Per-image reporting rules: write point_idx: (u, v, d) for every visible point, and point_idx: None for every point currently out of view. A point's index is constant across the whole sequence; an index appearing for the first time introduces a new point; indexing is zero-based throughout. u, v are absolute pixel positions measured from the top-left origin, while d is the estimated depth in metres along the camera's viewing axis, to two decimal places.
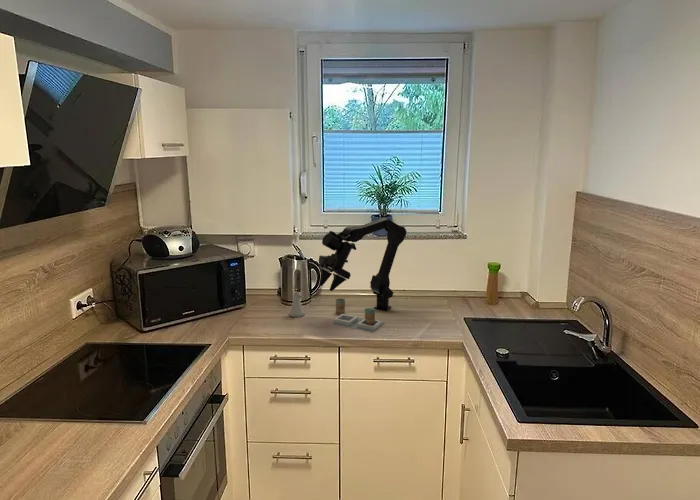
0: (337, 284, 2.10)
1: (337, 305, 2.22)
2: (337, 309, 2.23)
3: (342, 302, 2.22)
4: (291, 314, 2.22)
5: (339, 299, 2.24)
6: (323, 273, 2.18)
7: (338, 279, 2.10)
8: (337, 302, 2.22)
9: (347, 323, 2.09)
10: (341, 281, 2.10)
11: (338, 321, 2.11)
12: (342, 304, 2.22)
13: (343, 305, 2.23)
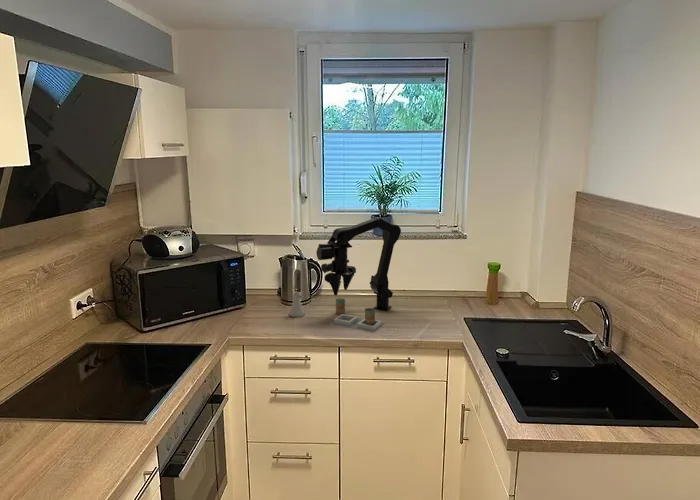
0: (336, 288, 2.16)
1: (337, 305, 2.22)
2: (337, 309, 2.23)
3: (342, 302, 2.22)
4: (291, 314, 2.22)
5: (339, 299, 2.24)
6: (343, 277, 2.26)
7: (335, 283, 2.16)
8: (337, 302, 2.22)
9: (347, 323, 2.09)
10: (337, 284, 2.15)
11: (338, 321, 2.11)
12: (342, 304, 2.22)
13: (343, 305, 2.23)
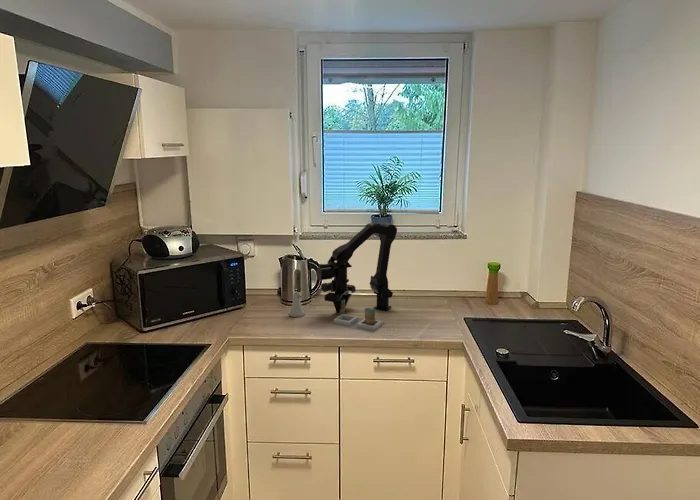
0: (338, 306, 2.20)
1: None
2: None
3: None
4: (291, 314, 2.22)
5: None
6: (340, 298, 2.26)
7: (337, 301, 2.20)
8: None
9: (347, 323, 2.09)
10: (339, 303, 2.19)
11: (338, 321, 2.11)
12: (342, 304, 2.22)
13: (343, 305, 2.23)
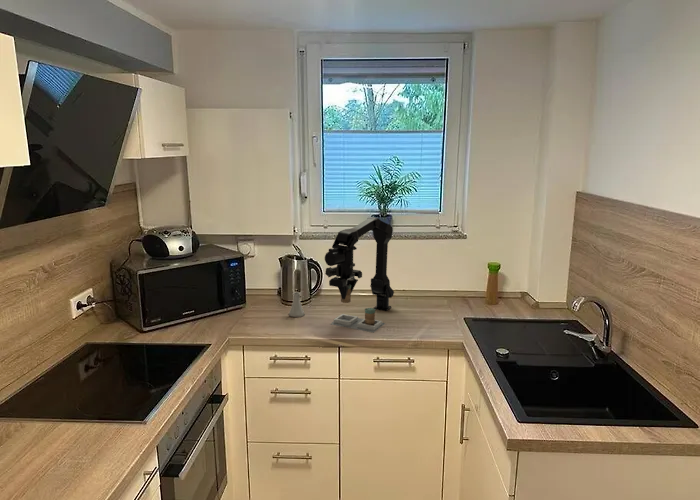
0: (344, 292, 2.07)
1: None
2: None
3: (348, 288, 2.09)
4: (291, 314, 2.22)
5: None
6: (346, 283, 2.13)
7: (343, 287, 2.07)
8: None
9: (347, 323, 2.09)
10: (345, 288, 2.06)
11: (338, 321, 2.11)
12: (348, 290, 2.09)
13: (349, 291, 2.09)
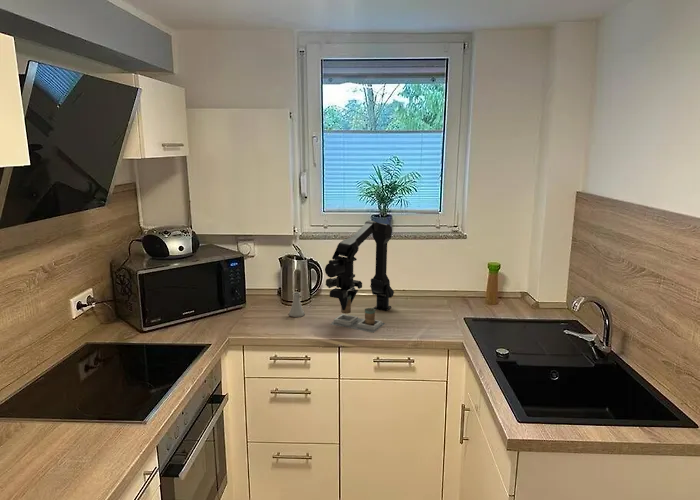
0: (344, 303, 2.08)
1: None
2: None
3: None
4: (291, 314, 2.22)
5: None
6: (346, 294, 2.14)
7: (343, 298, 2.08)
8: None
9: (347, 323, 2.09)
10: (345, 299, 2.07)
11: (338, 321, 2.11)
12: (348, 301, 2.10)
13: (349, 302, 2.10)
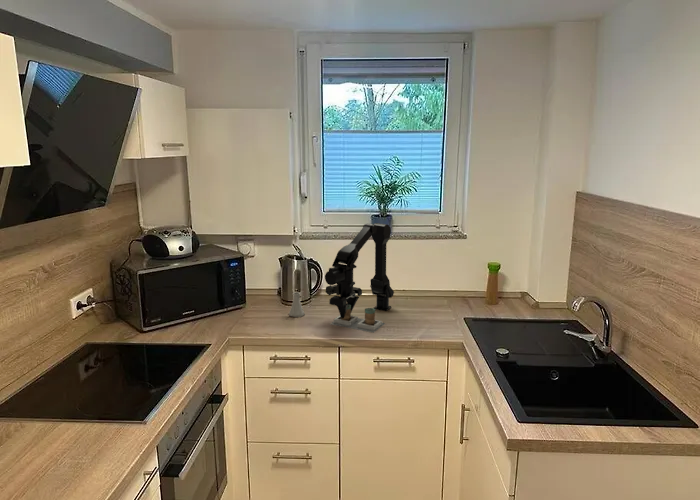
0: (343, 311, 2.08)
1: None
2: None
3: (348, 308, 2.10)
4: (291, 314, 2.22)
5: None
6: (347, 300, 2.15)
7: (342, 306, 2.08)
8: None
9: (347, 323, 2.09)
10: (344, 307, 2.07)
11: (338, 321, 2.11)
12: (348, 310, 2.11)
13: (349, 311, 2.11)
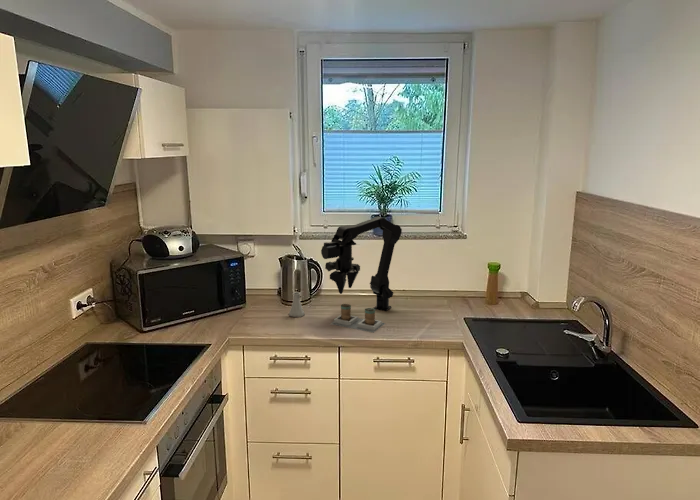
0: (341, 286, 2.14)
1: (342, 311, 2.11)
2: (342, 315, 2.11)
3: (348, 308, 2.10)
4: (291, 314, 2.22)
5: (344, 305, 2.12)
6: (347, 275, 2.24)
7: (340, 282, 2.14)
8: (342, 308, 2.11)
9: (347, 323, 2.09)
10: (342, 283, 2.13)
11: (338, 321, 2.11)
12: (348, 310, 2.11)
13: (349, 311, 2.11)
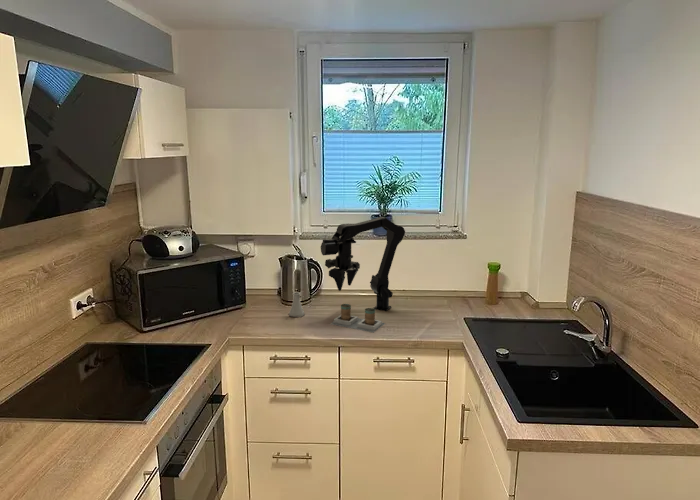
0: (340, 283, 2.17)
1: (342, 311, 2.11)
2: (342, 315, 2.11)
3: (348, 308, 2.10)
4: (291, 314, 2.22)
5: (344, 305, 2.12)
6: (347, 273, 2.27)
7: (339, 279, 2.17)
8: (342, 308, 2.11)
9: (347, 323, 2.09)
10: (341, 280, 2.16)
11: (338, 321, 2.11)
12: (348, 310, 2.11)
13: (349, 311, 2.11)
